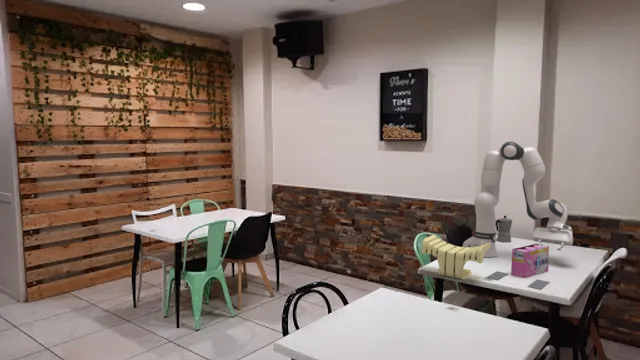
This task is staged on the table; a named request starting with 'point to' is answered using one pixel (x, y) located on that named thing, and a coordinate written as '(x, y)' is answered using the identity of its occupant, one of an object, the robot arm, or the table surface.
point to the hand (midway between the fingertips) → (549, 248)
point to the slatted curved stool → (453, 256)
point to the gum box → (529, 260)
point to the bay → (536, 284)
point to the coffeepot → (504, 229)
